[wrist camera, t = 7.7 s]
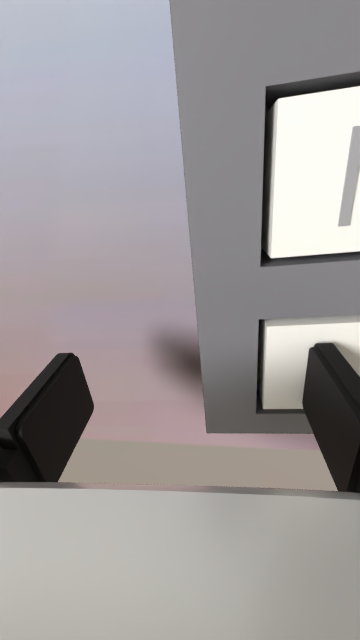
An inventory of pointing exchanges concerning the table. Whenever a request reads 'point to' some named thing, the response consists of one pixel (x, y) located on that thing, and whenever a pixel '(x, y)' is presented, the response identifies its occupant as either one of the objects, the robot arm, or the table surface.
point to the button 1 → (299, 354)
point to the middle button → (312, 174)
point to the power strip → (252, 184)
